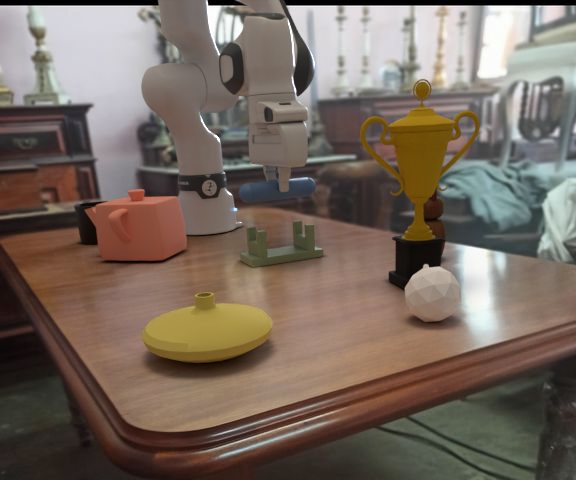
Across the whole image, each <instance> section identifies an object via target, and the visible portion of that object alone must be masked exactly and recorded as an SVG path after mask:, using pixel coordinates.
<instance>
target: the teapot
mask: <svg viewBox="0 0 576 480" xmlns="http://www.w3.org/2000/svg"><path fill="white" fill-rule="evenodd" d="M145 193H146V191H145V189H143V188H136V189H130V190H128V191H127V195H128V196H129V197H121V198H117V199H112V200H107V201H108V202H105V203H101V204H98V205H96V206H95V207H92V208H89V209H85V212H86V213H87V215H88V216H89V218H90V219H91V221H92V222H93V224H94V225H95V227H96V231H97V239H98V244H97V247H98V251H99V253H100V256H101V259H102V260H103V261H119V262H127V261H134V262H135V261H136V262H137V261H146V262H154V261H164V260H166V259H168V258H170V257H172V256H174V255H176V254H178V253H180V252H182V251H184V250H186V249H187V239H188V238H187V235H186V230H185V225H184V219H183V215H182V211H181V207H180V203H179V199H178V195H177V196H175V195H171V196H168V195H167V196H145Z"/></svg>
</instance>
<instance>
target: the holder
mask: <svg viewBox="0 0 576 480" xmlns="http://www.w3.org/2000/svg"><path fill="white" fill-rule="evenodd" d="M245 229H246V230H245V231H246V241H247V242H246V243H247V252H240V253H239V258H240V261H241V262H242V263H244V264H246V265H248V266H249V267H252V268H258V267H259V268H260V267H263V266H265V267H266V266H271V265H278V264H284V263H290V262H297V261H303V260H310V259H316V258H322V257H324V248H321V247H319V246H316V242H315V241H316V239H315V233H316V232H315V224H313V223H307V224H304V230H303V220H300V219H297V220H292V235H293V236H292V237H293V245H288V246H280V247H273V248H268V238H267V230H265V229H261V230H257V227H256V226H254V225H251V226H250V225H249V226H246V228H245ZM303 231H304V232H303Z"/></svg>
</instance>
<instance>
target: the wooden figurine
mask: <svg viewBox="0 0 576 480" xmlns="http://www.w3.org/2000/svg"><path fill="white" fill-rule="evenodd" d="M437 190H438V189H437V188H436V189H435V192H434V194H433V195H432V197H429V199H428V200H427V202H425V203H424V204H423V209H424V211H423V217H424V222H425V224H426V225H427V226H429V227H430V229H429V230H432V234H433V235H436V236H439V237H442V238H444V239H446V236H447V233H446V232H447V231H446V225H445V223H444V220H442V219H440V218H441V217H442V216H443V214H444V202H443V200H442V199H441V198H440V197H438V196H437V195H438V193H437V192H438V191H437ZM446 240H447V239H446ZM445 247H446V241H445V242H442V248H441V257H442V256H443V254H444V250H445Z"/></svg>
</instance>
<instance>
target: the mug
mask: <svg viewBox="0 0 576 480" xmlns="http://www.w3.org/2000/svg"><path fill="white" fill-rule="evenodd" d="M108 201H109V200H102V201H101V200H99V201H89V202H82V203H78V204H75V205H74V212H75V218H76V223H77V229H78V235H79V240H80V243H82V244H84V245H98V239H97V231H96V227H95V225H94V224H93V222H92V221H91V219H90V218H89V216H88V215H87V213H86V212H85V209H89V208H92V207H95V206H96V205H98V204H101V203H105V202H108Z"/></svg>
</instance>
